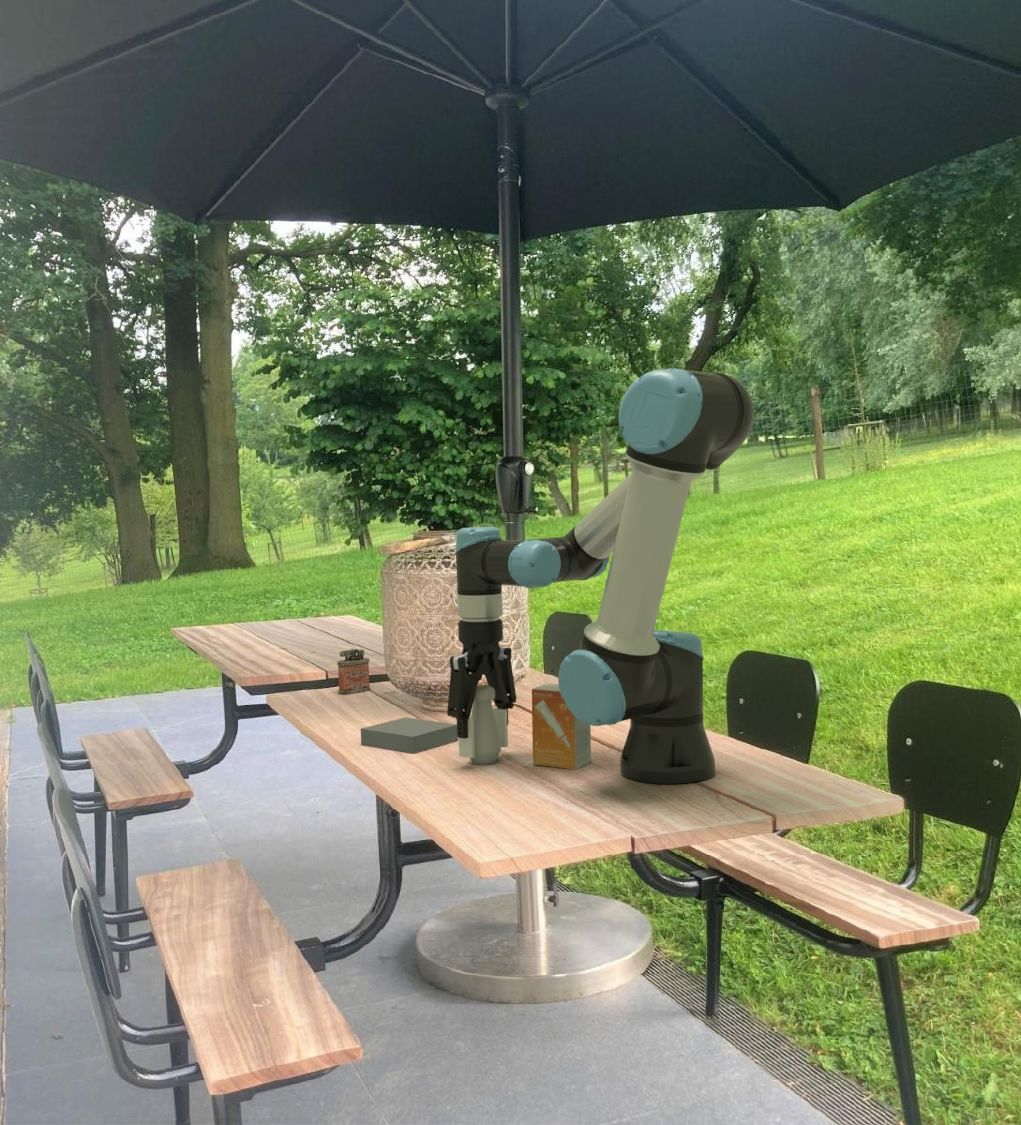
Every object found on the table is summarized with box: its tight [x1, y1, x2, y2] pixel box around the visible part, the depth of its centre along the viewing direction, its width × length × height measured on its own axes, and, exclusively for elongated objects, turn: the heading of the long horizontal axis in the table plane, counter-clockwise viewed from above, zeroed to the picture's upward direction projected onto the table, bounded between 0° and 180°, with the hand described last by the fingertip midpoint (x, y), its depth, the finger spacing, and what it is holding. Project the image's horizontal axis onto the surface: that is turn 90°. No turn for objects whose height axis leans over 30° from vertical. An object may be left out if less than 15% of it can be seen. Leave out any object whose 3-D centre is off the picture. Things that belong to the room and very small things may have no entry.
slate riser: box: [360, 717, 459, 754], centre depth 217 cm, size 13×12×3 cm
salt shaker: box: [469, 684, 502, 765], centre depth 201 cm, size 6×6×13 cm
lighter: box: [336, 647, 371, 696], centre depth 271 cm, size 8×3×10 cm, turn 130°
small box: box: [531, 682, 592, 771], centre depth 198 cm, size 8×6×13 cm
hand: (483, 751), depth 201 cm, fingers open, 8 cm apart
